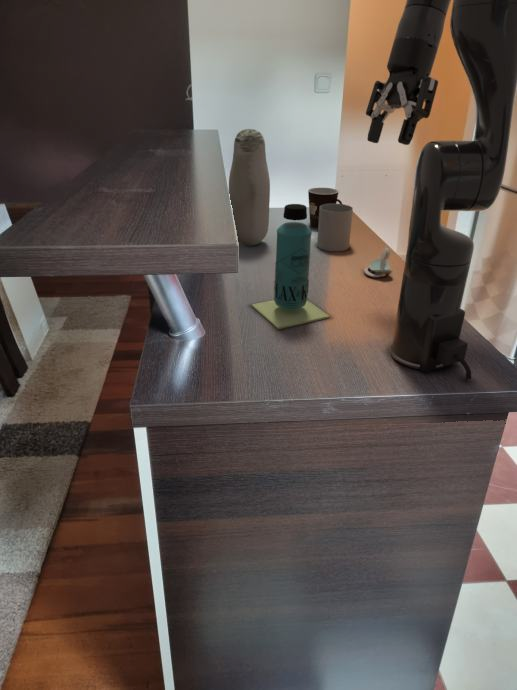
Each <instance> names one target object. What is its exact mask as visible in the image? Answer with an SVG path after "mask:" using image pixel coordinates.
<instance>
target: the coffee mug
mask: <svg viewBox="0 0 517 690" xmlns="http://www.w3.org/2000/svg"><path fill="white" fill-rule="evenodd" d="M307 194H308V211H309V213H308V214H309V226H310V228H314V229H318V224H319V209H320V206H321V205H324V204H343V202H342V200H340V199H338V198H339V196H338V195H339V190H338V189H336V188H331V187H311V188H309V189H308V191H307ZM337 202H338V203H337Z"/></svg>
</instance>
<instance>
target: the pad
mask: <svg viewBox="0 0 517 690" xmlns="http://www.w3.org/2000/svg"><path fill="white" fill-rule="evenodd" d="M251 308H253V309H254V310H256V311H257V312H258V313H259V314H260V315H261V316H262V317H263V318H264V319H265V320H267V321H268V322H269V323H270V324H272V325H273V327H275V328H276V329H277V330H282V329H287V328H290V327H294V326H299V325H303V324H308V323H313V322H317V321H321V320H326V319H329V318H330V315H329V314H327V313H326V312H325V311H323V310H322V309H320V308H319V307H318V306H317V305H315V304H314V303H312V302H311V301H309V300H308V299H307V302H306V304H305V306H303V307H301V308H298V309H285V308H281V307H279V306H277V305H276V304H275V301H274V299H272V300H267V301H261V302H258V303H253V304H251Z"/></svg>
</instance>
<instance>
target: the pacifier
mask: <svg viewBox="0 0 517 690" xmlns="http://www.w3.org/2000/svg"><path fill="white" fill-rule="evenodd" d="M390 255H391V251H390V249H389V247H387V246H385V247H384V248H383V250H382V252H381V255H380V258H377V259H374V260H372V261H371V262H370V264H369V266H366V267H365V268H364V270H363V272H364V274H365V275H366V276H368V277H371V278H381V277H385V276H386V275H387V274H390V273H393V270H390V269H391V264H390V263H389V262H388V261H387V260H388V259H389V258H390ZM370 271H372V272H374V273H372V272H370Z"/></svg>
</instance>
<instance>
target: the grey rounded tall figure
mask: <svg viewBox="0 0 517 690" xmlns="http://www.w3.org/2000/svg"><path fill="white" fill-rule="evenodd" d="M269 173H270V172H269V167H268V162H267V154H266V142H265V138H264V135H263V134H262V133H261V132H260V131H259V130H256V129H252V128H245V129H242V130H240V131H239V132H238V133H237V134H236V135H235V138H234V141H233V153H232V161H231V167H230V170H229V176H228V195H229V194H230V200H231V205H232V208H233V215H234V220H235V225H236V230H237V236H238V241H239V242H238V241H237V242H238V243H240V244H242V245H244V246H254V245H258V244H260V243H261V242H262V241H263V240H264V239H265V238H266V236H267V235H268V231H269V224H270V201H271V200H270V199H271V198H270V197H271V181H270V180H271V179H270V174H269Z"/></svg>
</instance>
